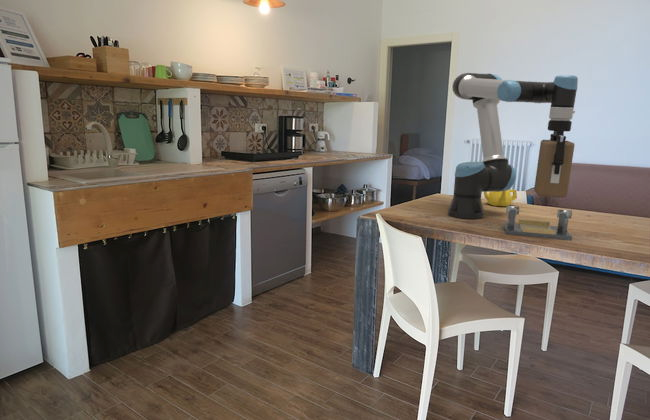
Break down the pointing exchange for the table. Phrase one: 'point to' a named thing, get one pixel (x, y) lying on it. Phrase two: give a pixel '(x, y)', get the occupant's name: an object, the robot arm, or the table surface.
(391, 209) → the table surface
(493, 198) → the yellow rounded piece
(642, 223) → the table surface
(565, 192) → the wooden block
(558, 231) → the grey metal fixture stand
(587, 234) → the table surface
